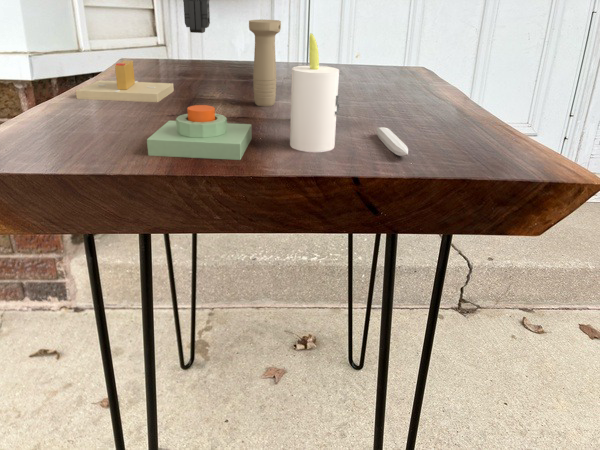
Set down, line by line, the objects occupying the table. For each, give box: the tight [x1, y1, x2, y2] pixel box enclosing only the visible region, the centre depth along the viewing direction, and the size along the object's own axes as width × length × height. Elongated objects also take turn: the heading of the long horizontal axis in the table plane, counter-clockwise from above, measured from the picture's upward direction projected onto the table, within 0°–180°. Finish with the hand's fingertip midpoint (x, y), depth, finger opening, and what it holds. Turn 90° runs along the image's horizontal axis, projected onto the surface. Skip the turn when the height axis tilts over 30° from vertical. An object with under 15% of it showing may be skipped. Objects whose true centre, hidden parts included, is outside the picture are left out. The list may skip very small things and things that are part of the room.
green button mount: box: [146, 113, 253, 161], centre depth 71 cm, size 12×10×4 cm
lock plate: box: [75, 79, 175, 103], centre depth 94 cm, size 14×10×3 cm
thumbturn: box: [114, 60, 136, 90], centre depth 93 cm, size 6×2×4 cm, turn 3°
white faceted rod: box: [376, 126, 409, 157], centre depth 74 cm, size 2×14×2 cm, turn 7°
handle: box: [248, 19, 282, 107], centre depth 88 cm, size 5×6×15 cm
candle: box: [289, 32, 341, 153], centre depth 71 cm, size 6×6×15 cm
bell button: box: [186, 104, 216, 122], centre depth 70 cm, size 4×4×2 cm
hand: (197, 32), depth 66 cm, fingers closed
